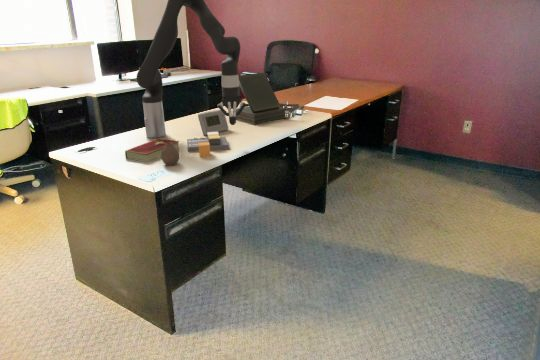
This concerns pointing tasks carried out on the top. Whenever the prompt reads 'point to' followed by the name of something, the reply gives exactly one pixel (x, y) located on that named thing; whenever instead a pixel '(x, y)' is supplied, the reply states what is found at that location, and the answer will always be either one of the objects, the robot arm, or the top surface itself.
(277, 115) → the angled tablet stand
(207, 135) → the block
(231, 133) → the top surface
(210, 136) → the block
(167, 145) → the vase
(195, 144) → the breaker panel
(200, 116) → the digital clock
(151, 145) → the hardcover book
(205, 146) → the orange rectangular block
